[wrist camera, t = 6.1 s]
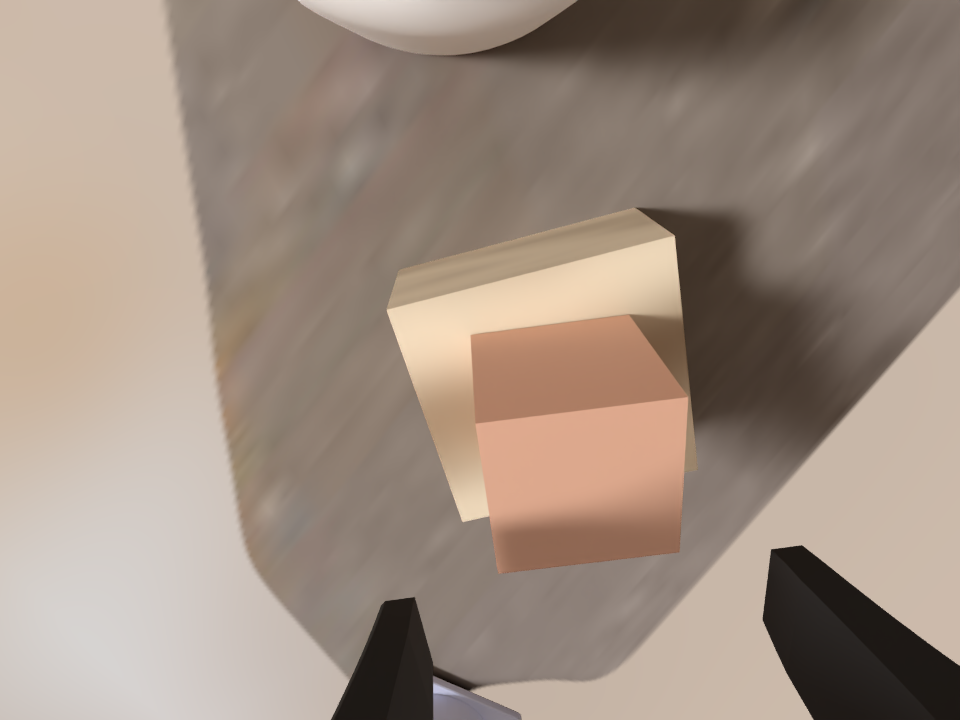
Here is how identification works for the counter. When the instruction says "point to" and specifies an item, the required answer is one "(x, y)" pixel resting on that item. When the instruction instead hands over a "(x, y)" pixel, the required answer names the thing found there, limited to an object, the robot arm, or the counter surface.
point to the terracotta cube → (578, 443)
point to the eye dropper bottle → (439, 22)
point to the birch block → (530, 318)
